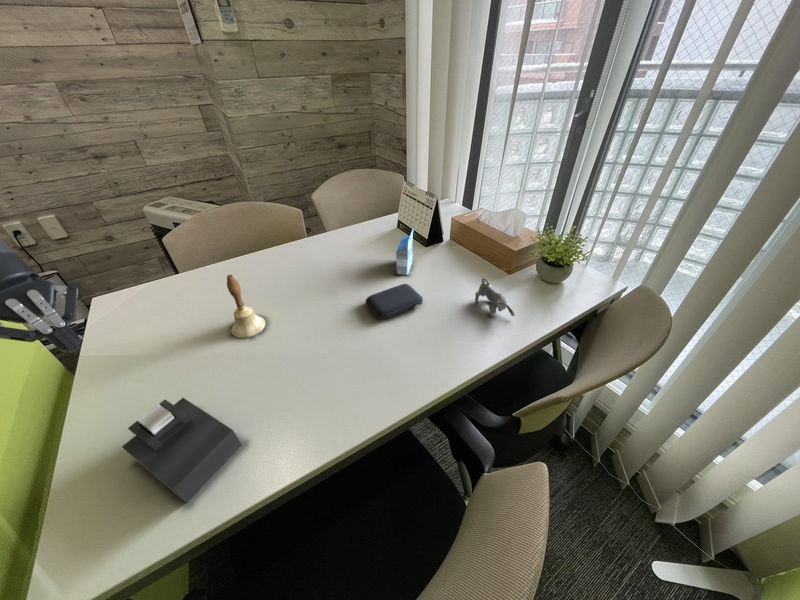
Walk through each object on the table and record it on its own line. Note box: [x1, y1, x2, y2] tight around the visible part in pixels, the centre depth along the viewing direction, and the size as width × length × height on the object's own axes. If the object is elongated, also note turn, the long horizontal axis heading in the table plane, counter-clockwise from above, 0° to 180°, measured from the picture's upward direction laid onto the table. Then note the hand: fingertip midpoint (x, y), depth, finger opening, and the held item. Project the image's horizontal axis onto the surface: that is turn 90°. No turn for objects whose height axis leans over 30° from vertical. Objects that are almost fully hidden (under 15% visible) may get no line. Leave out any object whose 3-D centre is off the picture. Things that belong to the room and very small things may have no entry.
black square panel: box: [121, 397, 243, 504], centre depth 57 cm, size 15×11×7 cm
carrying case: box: [365, 283, 424, 320], centre depth 90 cm, size 11×3×15 cm
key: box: [137, 404, 175, 435], centre depth 56 cm, size 4×4×2 cm
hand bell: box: [226, 274, 266, 339], centre depth 80 cm, size 8×8×16 cm
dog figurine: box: [474, 277, 516, 317], centre depth 88 cm, size 12×6×7 cm, turn 27°
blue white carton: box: [395, 229, 414, 276], centre depth 103 cm, size 9×4×12 cm, turn 169°
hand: (76, 349), depth 53 cm, fingers closed
